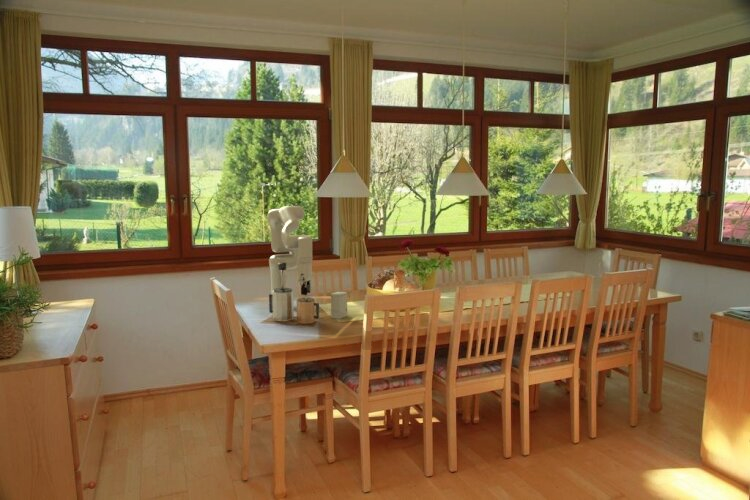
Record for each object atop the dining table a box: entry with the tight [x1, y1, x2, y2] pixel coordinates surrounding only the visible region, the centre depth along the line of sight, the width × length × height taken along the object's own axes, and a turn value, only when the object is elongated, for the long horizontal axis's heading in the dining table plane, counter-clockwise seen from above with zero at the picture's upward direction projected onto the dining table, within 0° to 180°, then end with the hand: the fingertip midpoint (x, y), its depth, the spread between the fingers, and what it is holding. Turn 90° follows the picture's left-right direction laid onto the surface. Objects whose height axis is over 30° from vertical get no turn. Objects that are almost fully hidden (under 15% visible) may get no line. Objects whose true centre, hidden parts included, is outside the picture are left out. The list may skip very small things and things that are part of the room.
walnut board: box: [260, 314, 325, 328], centre depth 310 cm, size 18×30×1 cm, turn 77°
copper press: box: [296, 296, 320, 324], centre depth 306 cm, size 10×12×13 cm
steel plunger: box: [278, 262, 286, 290], centre depth 309 cm, size 8×8×19 cm
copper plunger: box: [304, 284, 311, 300], centre depth 305 cm, size 6×6×15 cm
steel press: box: [268, 287, 295, 322], centre depth 311 cm, size 11×13×17 cm
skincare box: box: [330, 291, 348, 320], centre depth 317 cm, size 8×6×15 cm
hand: (305, 293), depth 305 cm, fingers closed on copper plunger, 4 cm apart
